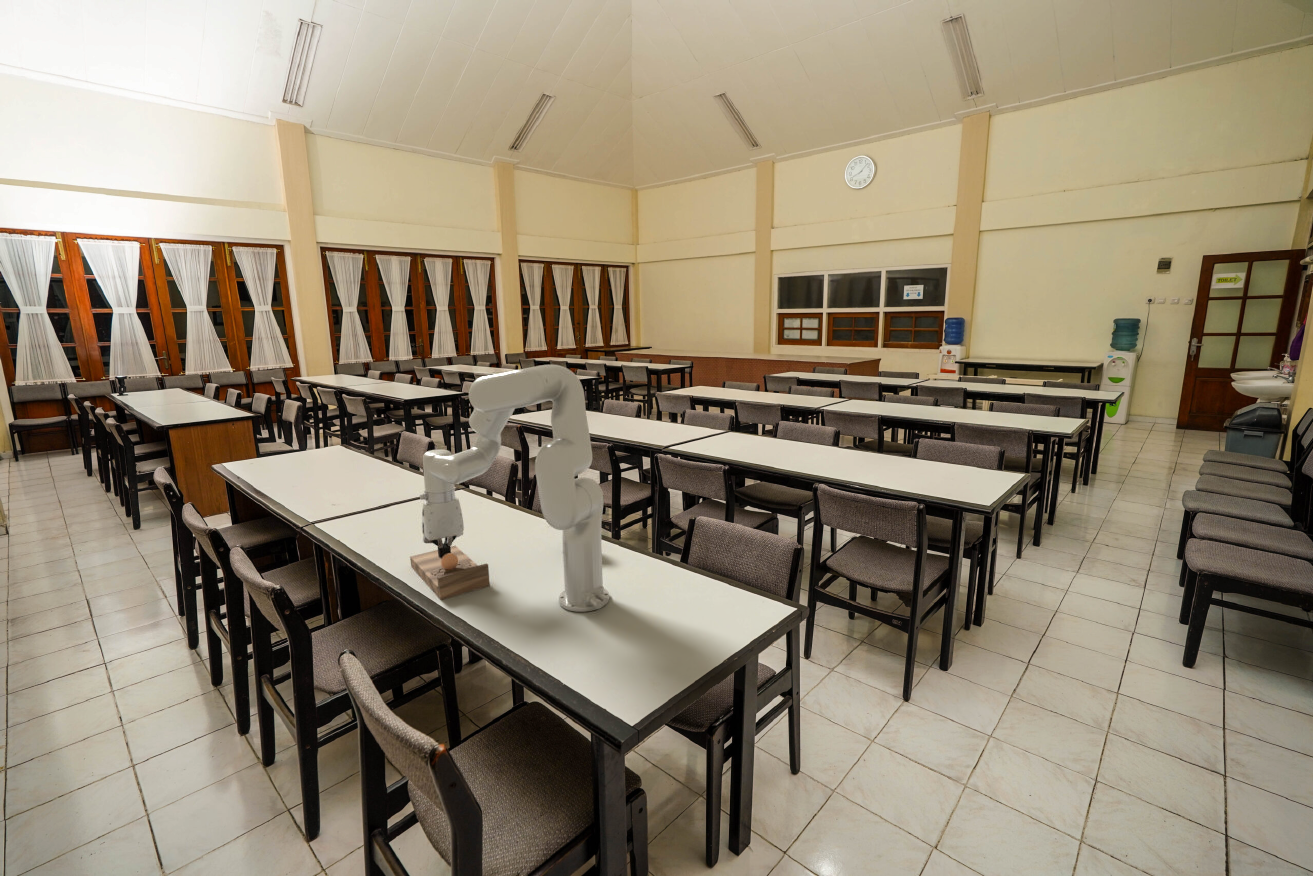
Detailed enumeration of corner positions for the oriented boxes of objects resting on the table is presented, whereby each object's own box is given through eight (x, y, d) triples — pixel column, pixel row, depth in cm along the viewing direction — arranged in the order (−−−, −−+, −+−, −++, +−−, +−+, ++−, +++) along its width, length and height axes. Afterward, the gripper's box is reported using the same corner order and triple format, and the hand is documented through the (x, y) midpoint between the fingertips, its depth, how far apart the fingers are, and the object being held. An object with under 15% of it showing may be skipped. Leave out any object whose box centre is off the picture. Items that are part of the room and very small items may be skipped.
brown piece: (489, 585, 159) (488, 564, 158) (440, 600, 151) (438, 578, 150) (456, 555, 179) (454, 536, 178) (411, 566, 171) (409, 546, 170)
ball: (455, 559, 166) (460, 570, 163) (439, 563, 163) (443, 575, 160) (455, 548, 163) (459, 559, 160) (438, 552, 161) (443, 563, 158)
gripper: (415, 504, 153) (421, 570, 157) (472, 494, 162) (476, 557, 166) (407, 497, 159) (413, 561, 163) (462, 487, 168) (466, 548, 172)
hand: (444, 558), depth 165 cm, fingers closed
